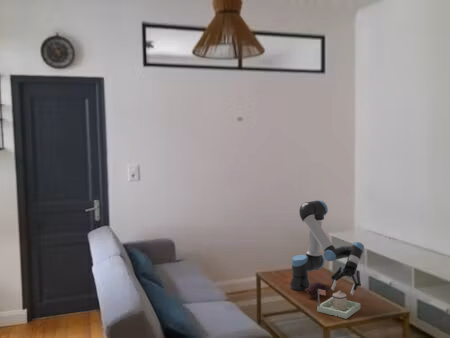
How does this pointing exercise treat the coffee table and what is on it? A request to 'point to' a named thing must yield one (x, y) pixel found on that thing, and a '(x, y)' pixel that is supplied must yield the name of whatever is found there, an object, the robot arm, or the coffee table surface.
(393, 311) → the coffee table surface
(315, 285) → the pine cone
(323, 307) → the mint green square tray
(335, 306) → the teacup with lid
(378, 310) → the coffee table surface
